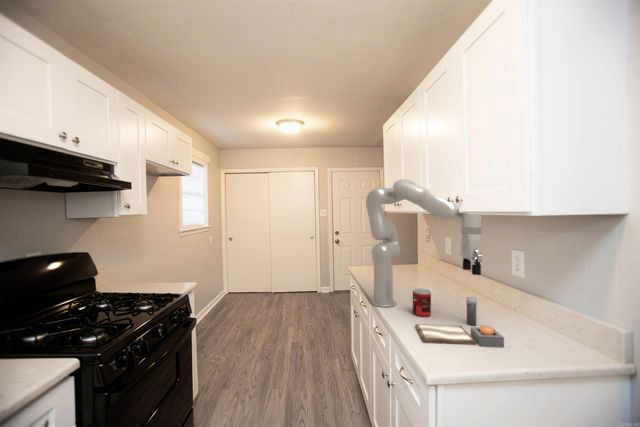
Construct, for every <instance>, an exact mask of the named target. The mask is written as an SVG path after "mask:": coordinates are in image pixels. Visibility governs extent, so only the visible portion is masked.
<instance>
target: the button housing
mask: <svg viewBox="0 0 640 427" xmlns="http://www.w3.org/2000/svg"><path fill="white" fill-rule="evenodd" d="M493 329H494V335H482V334H481V333H480V326H479V327H477V326H471V327H470V336H471V337H472V338H473V339H474V340H475V341H476V344H478V346H479V347H489V348H494V347H495V348H505V337H504V336H503V335H502V334H501V333H499V331H497V330H496V329H495V328H493Z"/></svg>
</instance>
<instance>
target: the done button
mask: <svg viewBox="0 0 640 427" xmlns="http://www.w3.org/2000/svg"><path fill="white" fill-rule="evenodd" d="M479 328H480V333H481V334H482V335H494V329H495V328H494V327H491V326H488V325H479Z"/></svg>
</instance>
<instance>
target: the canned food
mask: <svg viewBox="0 0 640 427" xmlns="http://www.w3.org/2000/svg"><path fill="white" fill-rule="evenodd" d="M412 314H413V315H414V316H416V317H419V318H429V317H431V314H432V292H431V291H430V290H429V289H427V288H415V289H414V288H413V289H412Z"/></svg>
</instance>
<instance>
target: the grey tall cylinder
mask: <svg viewBox="0 0 640 427" xmlns="http://www.w3.org/2000/svg"><path fill="white" fill-rule="evenodd" d="M465 298H466V299H465V300H466V302H465V303H466V325H468V326H471V327H477V301H478V300H477V298H476V297H475V296H474V297H473V296H466V297H465Z"/></svg>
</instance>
